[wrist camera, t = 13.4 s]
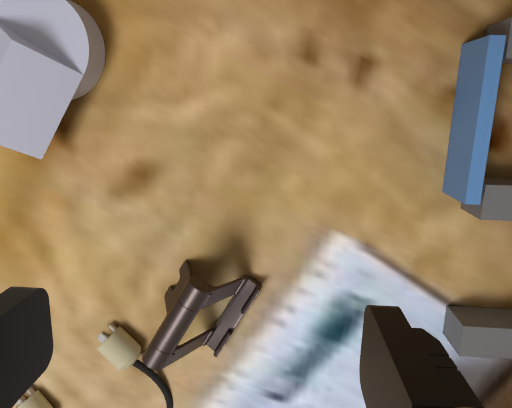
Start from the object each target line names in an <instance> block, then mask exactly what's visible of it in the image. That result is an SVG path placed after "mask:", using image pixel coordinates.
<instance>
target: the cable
mask: <svg viewBox="0 0 512 408" xmlns="http://www.w3.org/2000/svg"><path fill="white" fill-rule="evenodd" d="M109 327H110V329H111V330H112V331H113V334H111V335H110V336H109V337H108V336H107V335H105V334H103V333H101V334H100V335H99V337H98V340H99V341H100V342H101V344H102V345H101V346H100V347H99V348H98V349H97V350H98V351H99V352H100V353H101V354H102V355H103V356H104V357H105V358H107V359H108V360H109V361H110V362H111V363H112V364H113V365H114V366H115V367H116V368H117V369H118V370H123V369H126V368H128V367H130V366H131V365H133V366H135V367H136V368H138V369H140V370H141V371H142V372H144V373H145V374H147V375H148V376H149V377H150V378H151V379H152V380H153V381H154V382H155V383H156V384H157V385H158V387H159V388H160V389H161V391H162V393H163V395H164V397H165V400H166V404H167V408H173V400H172V396H171V393H170V391H169V389H168V387H167V386H166V384H165V383H164V381H163V380H162V379H161V378H160V377H159V375H158V374H157V373H155V372H154V371H153V370H152V369H150V368H148V367H147V366H146V365H145V364H144V363H143V362H141V361H139V360H138V357H139V355H140V353H141V352H140V351H141V346H140V345H139V344H138V343H137V342H136V341H135V340H134V339H133V338H132V337H131V336H130V335H129V334H128V333H127V332H126V331H124V330H123V329H122V328H121V327H119V328H117V327H115V326H114V325H113V324H110V325H109ZM27 392H28V394H29V395H30V397H29V398H28V399H26V400H25V399H23V398H22V397H21V398H20V399H19V400H18V401H17V402H16V403H17V405H18V406H17V407H16V408H53V407H52V405H51V404H50V403H49V402H48V401H47V399H46V398H45V397H44V396H43V395H42V393H41V392H40V391H39V390H37V391H36V392H35V391H34V390H33V389H32V388H31V387H30V388H29V389H28V390H27Z"/></svg>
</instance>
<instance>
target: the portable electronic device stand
mask: <svg viewBox="0 0 512 408" xmlns="http://www.w3.org/2000/svg"><path fill="white" fill-rule="evenodd" d="M261 288H262V285H261V283H260V282H259V281H258V280H257V279H255V278H253V277H251V276H244V277H242V278H239V279H237V280H234V281H231V282H229V283H226V284H223V285H221V286H218V287H213V286H211V285H210V284H208V283H207V282H206V281H204V280H203V279H201V278H199V277H195V276H192V274H191V270H190V267H189V262H188V261H185V262H184V263H183V264H182V266H181V268H180V279H179V281H178V283H177V285H176V286H175V288H174V290H173V287H172V286H170V287H169V288H168V290H167V292H166V294H165V297H164V298H165V303H166V310H167V316H166V317H165V319H164V321H163V322H162V324H161V326H160V327H159V329H158V331H157V332H156V334H155V336H154V338H153V339H152V341H151V342H150V344H149V346H148V348H147V349H146V351H145V353H144V354H143V356H142V360H143V362H144V364H145V365H146V366H147V367H148V368H150V369H152V370H161V369H163V368H165V367H166V366H168V365H170V364H172V363H173V362H175V361H177V360H178V359H180V358H182V357H183V356H185V355H187V354H188V353H190V352H192V351H193V350H195V349H197V348H199V347H200V346H202V345H203V346H204V345H208V346H209V347H210V348H211V349H212V350H214V356H215V357H217V356H218V354H219V353H220V351H221V350H222V348H223V347H224V345H225V344H226V342H227V340H228V339H229V337H230V336H231V334H232V332H233V331H234V329H235V328H236V326H237V325H238V323H239V321H240V320H241V318H242V317H243V315H244V314H245V313H246V311H247V310H248V308H249V307H250V305H251V304H252V302H253V301H254V299H255V297H256V296H257V294H258V293H259V291H260V289H261ZM232 295H234V296H233V298H232V299H231V301H230V302H229V304H228V305H227V307H226V309H225V310H224V312H223V313H222V315H221V316H220V318H219V320H218V321H217V323H216V324H215V326H214V327H213V328H211V329H209V330H208V331H206V332H204V333H202V334H200V335H198V336H197V337H195V338H193V339H191V340H189V341H187V342H186V343H184V344H182V345H179V346H177V345H178V344H179V342H180V340H181V339H182V337H183V336H184V334H185V332H186V331H187V329H188V327H189V326H190V324H191V323H192V321H193V319H194V318H195V316H196V314H197V313H198V311H199V310H200V309H202V308H204V307H207V306H209V305H211V304H214V303H216V302H218V301H220V300H223V299H225V298H227V297H229V296H232Z"/></svg>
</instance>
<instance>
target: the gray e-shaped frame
mask: <svg viewBox="0 0 512 408" xmlns="http://www.w3.org/2000/svg"><path fill="white" fill-rule="evenodd" d="M502 64H512V17H510V18H507V19H505V20H502V21H499V22H497V23H494V24H492V25H489V26H487V32H486V36H485V37H482V38H479V39H476V40H473V41H470V42H467V43H464V44H462V48H461V56H460V63H459V71H458V78H457V86H456V93H455V101H454V108H453V116H452V123H451V131H450V138H449V146H448V153H447V161H446V168H445V176H444V183H443V191H442V192H444V193H445V194H447V195H449V196H451V197H453V198H455V199H456V200H458V201H460V202H462V204H461V209H463V210H465V211H466V212H468V213H470V214H472V215H473V216H475V217H477V218H479V219H480V220H502V221H512V178H486V177H484V175H485V169H486V162H487V156H488V150H489V143H490V137H491V130H492V124H493V117H494V111H495V105H496V98H497V92H498V85H499V79H500V72H501V66H502ZM443 334H444V335H445V337H446V338H447V340H448V341H449V342H450V344H451V345H452V347H453V348H454V350H455V351H456V352H457V354H458V355H459V356H470V357H487V358H504V359H512V309H499V308H480V307H461V306H447V308H446V315H445V322H444V328H443Z"/></svg>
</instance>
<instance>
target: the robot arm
mask: <svg viewBox="0 0 512 408" xmlns="http://www.w3.org/2000/svg"><path fill="white" fill-rule="evenodd" d="M52 353H53V337H52V326H51V316H50V305H49V297H48V294H47V292H46V290H45V289H43V288H30V287H10V288H8V289H7V290H5V291H4V292H2V293H1V294H0V408H12V407H13V406H14V405H15V404H16V402H17V401H18V400H19V399H20V398H21V397H22V396H23V395H24V394H25V392H26V391H27V390H28V389H29V388H30V387H31V386H32V385H33V383H34V382H35V381H36V380H37V379H38V378H39V377H40V376H41V374H42V373H43V372H44V371H45V370H46V368H47V367H48V365H49V363H50V360H51V357H52ZM360 383H361V389H362V393H363V397H364V401H365V404H366V408H484V407H483V406H482V404H481V403H480V401H479V400H478V398H477V397H476V395H475V394H474V392H473V391H472V389H471V388H470V386H469V385H468V383H467V382H466V380H465V379H464V377H463V376H462V374H461V373H460V371H457V367H456V365H455V364H454V362H453V361H452V359H451V358H449V355H448V353H447V352H446V350H445V349H444V347H443V346H442V344H441V343H440V341H439V340H437V339H436V338H435V337H433V336H432V335H431V334H429V333H428V332H427V331H425V330H424V329H422V328H411V326H410V325H409V323H408V321H407V319H406V318H405V316H404V314H403V312H402V311H401V309H400V308H399V307H396V306H376V305H367V306H366V308H365V313H364V323H363V334H362V345H361V355H360Z"/></svg>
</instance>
